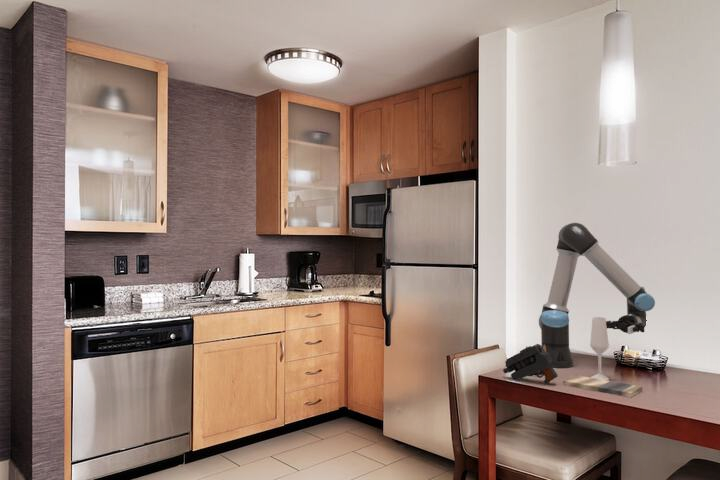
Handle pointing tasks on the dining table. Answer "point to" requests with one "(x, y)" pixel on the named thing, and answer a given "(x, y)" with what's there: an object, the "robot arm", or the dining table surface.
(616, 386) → the subfloor board
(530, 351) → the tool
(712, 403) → the dining table surface
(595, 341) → the champagne flute
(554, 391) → the dining table surface
